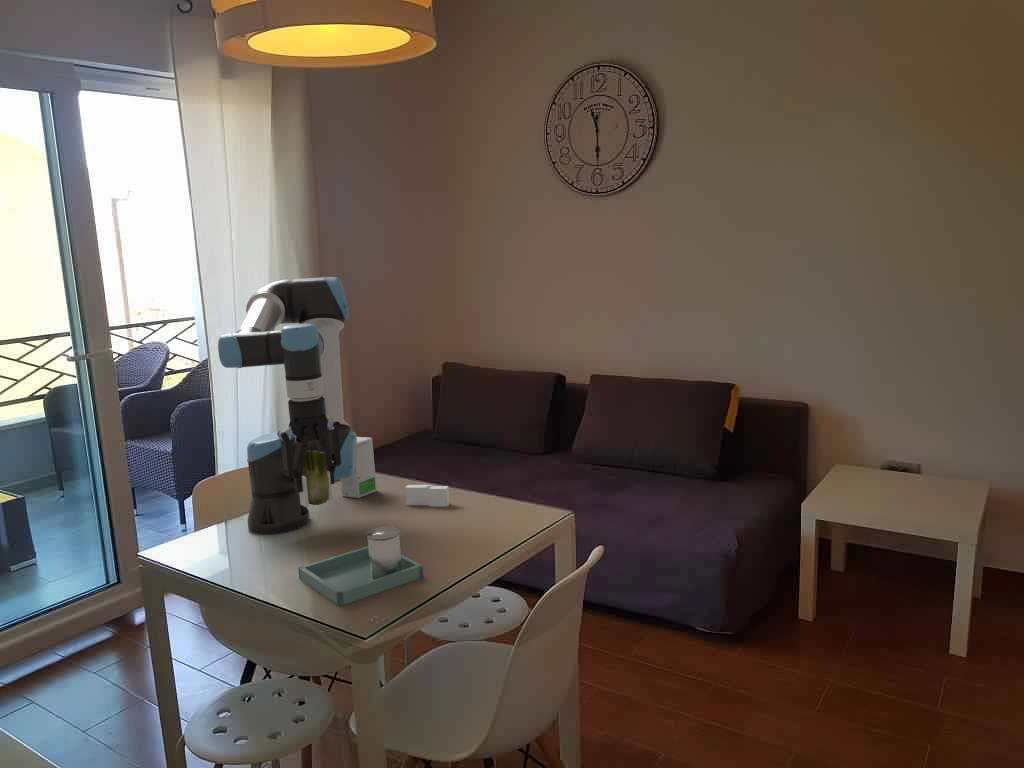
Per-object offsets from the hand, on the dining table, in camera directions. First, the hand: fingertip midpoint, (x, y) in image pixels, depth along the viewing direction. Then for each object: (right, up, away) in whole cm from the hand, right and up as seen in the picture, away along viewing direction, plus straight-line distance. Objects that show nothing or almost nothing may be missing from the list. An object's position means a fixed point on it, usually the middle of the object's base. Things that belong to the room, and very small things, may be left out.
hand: (316, 502), depth 178 cm
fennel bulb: (0, -1, 0) cm, 1 cm away
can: (+17, -14, -10) cm, 24 cm away
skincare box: (-1, -5, +53) cm, 53 cm away
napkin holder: (+20, -7, +39) cm, 45 cm away
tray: (+11, -15, -9) cm, 21 cm away
